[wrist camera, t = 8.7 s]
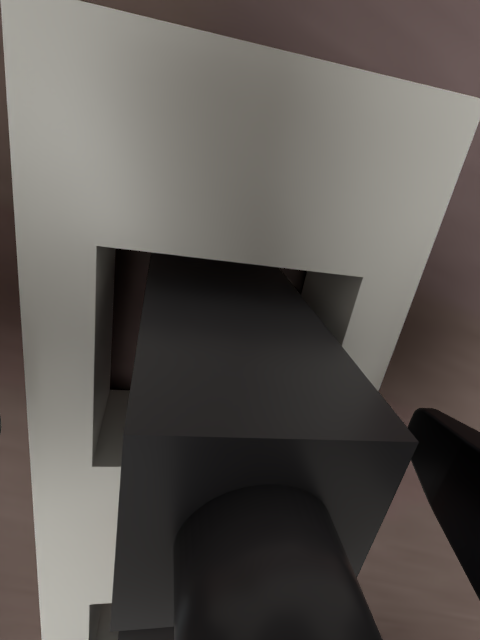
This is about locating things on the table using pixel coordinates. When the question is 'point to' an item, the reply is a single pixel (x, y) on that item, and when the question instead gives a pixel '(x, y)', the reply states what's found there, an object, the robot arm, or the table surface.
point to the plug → (248, 463)
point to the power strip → (193, 225)
